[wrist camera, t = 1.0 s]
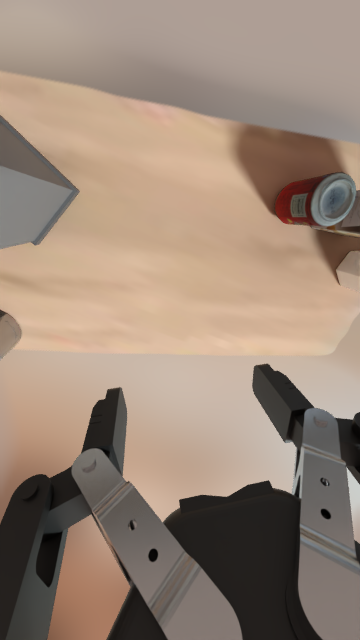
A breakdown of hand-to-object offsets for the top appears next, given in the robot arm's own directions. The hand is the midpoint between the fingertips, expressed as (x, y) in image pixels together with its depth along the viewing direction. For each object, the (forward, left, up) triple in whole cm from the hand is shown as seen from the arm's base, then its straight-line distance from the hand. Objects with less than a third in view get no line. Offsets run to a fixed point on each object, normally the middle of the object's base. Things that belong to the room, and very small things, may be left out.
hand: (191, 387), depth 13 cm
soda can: (+27, +6, -35) cm, 45 cm away
